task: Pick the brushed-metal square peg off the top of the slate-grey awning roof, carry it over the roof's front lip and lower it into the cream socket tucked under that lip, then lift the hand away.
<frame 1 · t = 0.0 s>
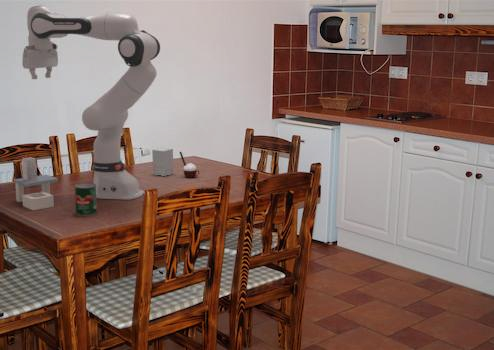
hand: (41, 78, 282), 48 cm above the table, tool pointing down, fingers open, 8 cm apart
cocoa: (189, 177, 317), on the table
canned tomato: (86, 213, 253), on the table
grey fluted block: (163, 175, 321), on the table
metal peg: (30, 180, 266), point 9 cm above the table, touching awning stand
awning stand: (38, 206, 262), on the table
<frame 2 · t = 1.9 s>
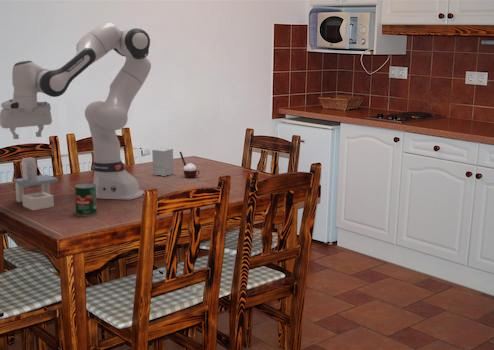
hand: (27, 137, 262), 26 cm above the table, tool pointing down, fingers open, 8 cm apart
nothing on the table moved.
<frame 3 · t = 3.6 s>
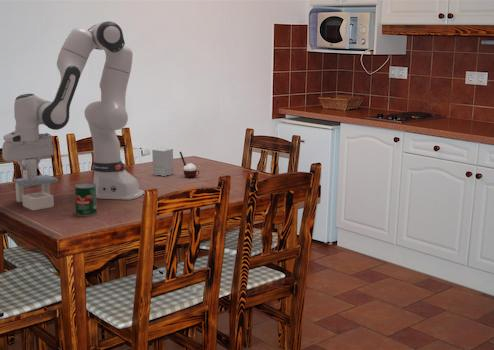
hand: (29, 169, 265), 14 cm above the table, tool pointing down, fingers closed on metal peg, 4 cm apart
metal peg: (30, 180, 266), point 9 cm above the table, touching awning stand, gripper
everything else where it was.
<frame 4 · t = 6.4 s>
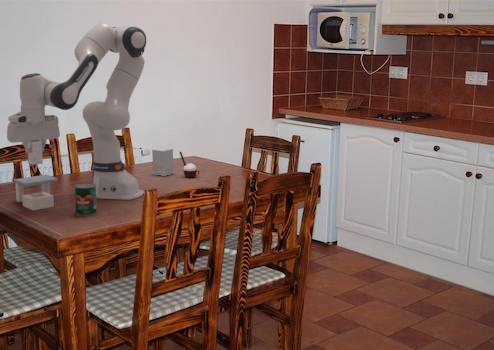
hand: (34, 151, 257), 22 cm above the table, tool pointing down, fingers closed on metal peg, 4 cm apart
metal peg: (35, 163, 258), point 17 cm above the table, touching gripper
everything else where it was.
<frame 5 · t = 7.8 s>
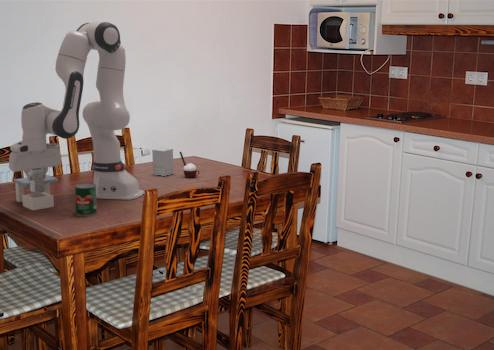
hand: (36, 179, 259), 11 cm above the table, tool pointing down, fingers closed on metal peg, 4 cm apart
metal peg: (37, 191, 260), point 6 cm above the table, touching gripper
everything else where it was.
when the fingers open (6 cm above the table, at t = 9.1 s): metal peg drops 1 cm, resting in awning stand.
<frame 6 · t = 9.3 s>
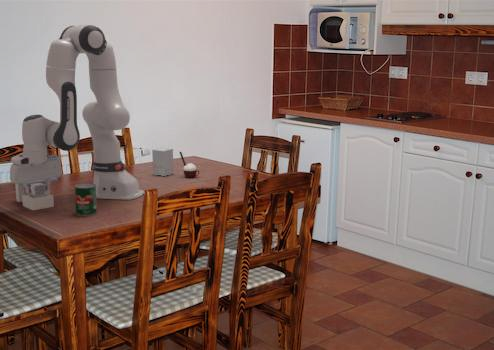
hand: (37, 191, 260), 6 cm above the table, tool pointing down, fingers open, 6 cm apart
metal peg: (38, 206, 262), resting in awning stand
everything else where it was.
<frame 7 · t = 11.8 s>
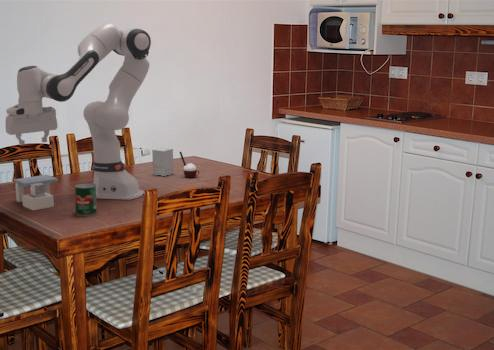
hand: (33, 143, 260), 25 cm above the table, tool pointing down, fingers open, 8 cm apart
nothing on the table moved.
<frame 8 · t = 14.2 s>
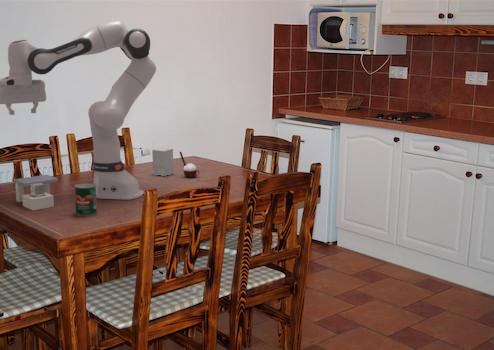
hand: (22, 113, 275), 34 cm above the table, tool pointing down, fingers open, 8 cm apart
nothing on the table moved.
at the end: metal peg 0.1 cm off-centre on the awning stand, point 0.0 cm above the awning stand's base; metal peg tilted 0°; the gripper is holding nothing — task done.
